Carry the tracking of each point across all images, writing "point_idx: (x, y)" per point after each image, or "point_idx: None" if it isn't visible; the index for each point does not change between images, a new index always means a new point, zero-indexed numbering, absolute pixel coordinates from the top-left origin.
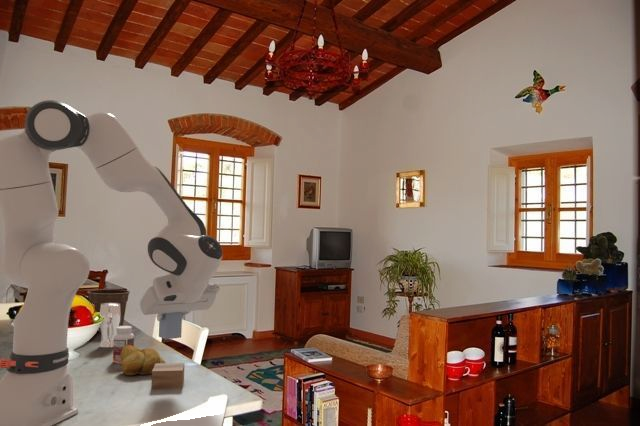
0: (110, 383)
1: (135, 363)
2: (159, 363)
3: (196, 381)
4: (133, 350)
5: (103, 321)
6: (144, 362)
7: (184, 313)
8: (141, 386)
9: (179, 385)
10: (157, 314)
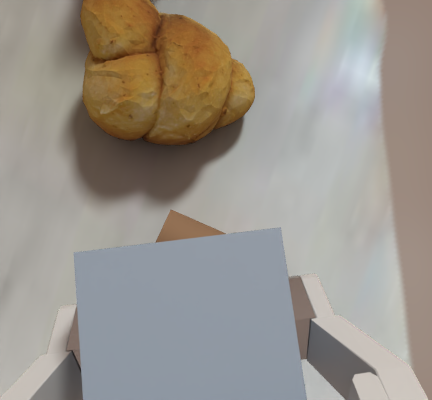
0: (30, 179)
1: (116, 128)
2: (185, 219)
3: None
4: (120, 43)
5: None
6: (154, 127)
7: (324, 371)
8: None
9: None
10: (54, 328)
